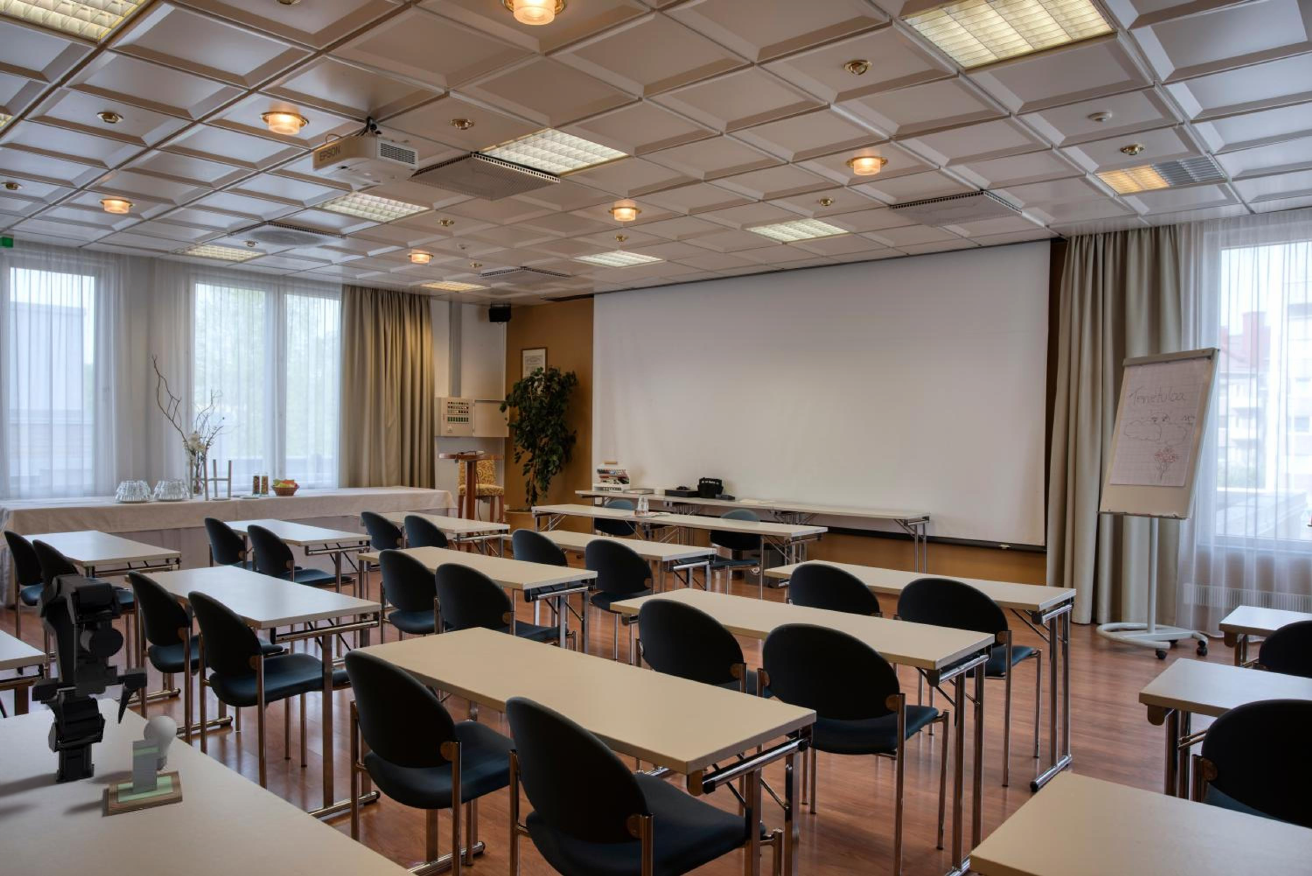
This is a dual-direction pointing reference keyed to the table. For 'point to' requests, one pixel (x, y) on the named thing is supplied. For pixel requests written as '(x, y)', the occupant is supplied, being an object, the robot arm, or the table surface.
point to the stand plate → (144, 794)
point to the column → (145, 765)
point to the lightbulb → (161, 736)
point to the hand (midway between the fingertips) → (91, 727)
